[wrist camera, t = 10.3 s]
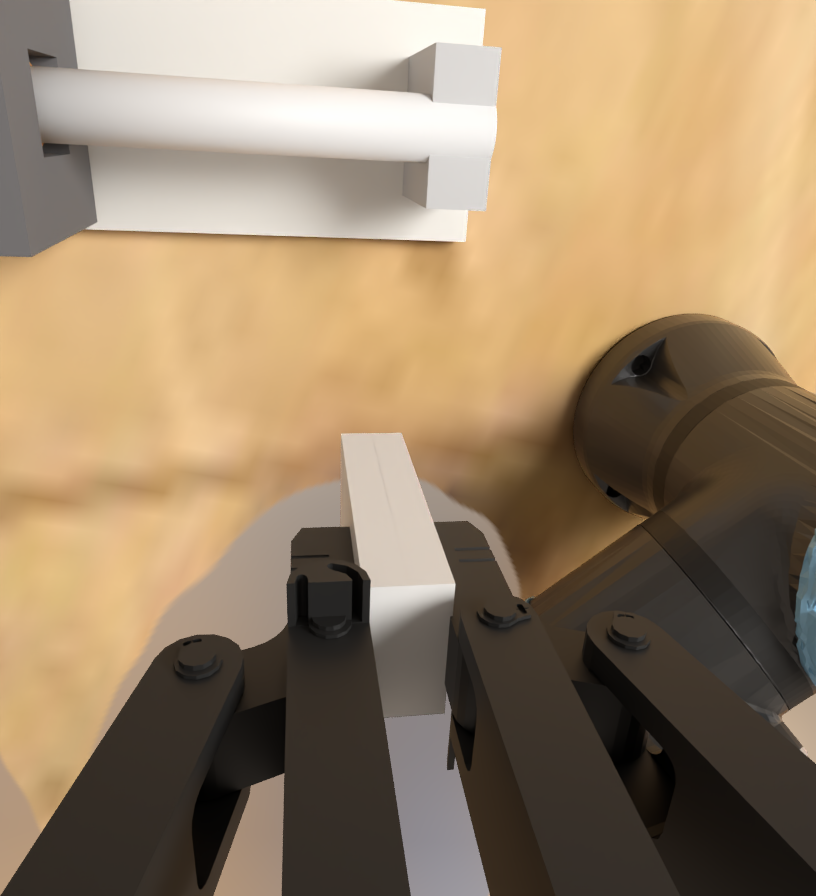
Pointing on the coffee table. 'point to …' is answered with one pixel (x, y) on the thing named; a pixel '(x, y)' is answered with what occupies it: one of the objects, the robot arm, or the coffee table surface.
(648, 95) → the coffee table surface
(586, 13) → the coffee table surface
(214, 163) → the pipe stand
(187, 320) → the coffee table surface
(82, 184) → the collar
